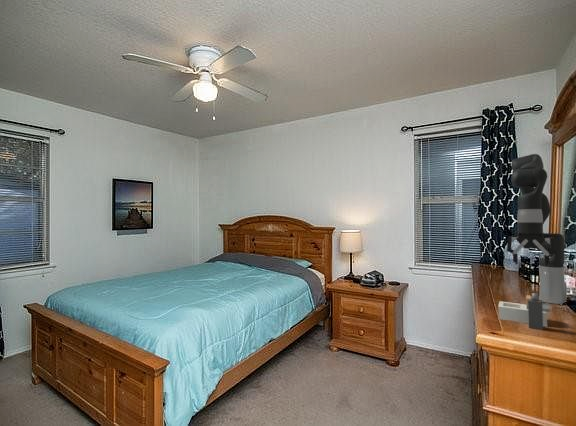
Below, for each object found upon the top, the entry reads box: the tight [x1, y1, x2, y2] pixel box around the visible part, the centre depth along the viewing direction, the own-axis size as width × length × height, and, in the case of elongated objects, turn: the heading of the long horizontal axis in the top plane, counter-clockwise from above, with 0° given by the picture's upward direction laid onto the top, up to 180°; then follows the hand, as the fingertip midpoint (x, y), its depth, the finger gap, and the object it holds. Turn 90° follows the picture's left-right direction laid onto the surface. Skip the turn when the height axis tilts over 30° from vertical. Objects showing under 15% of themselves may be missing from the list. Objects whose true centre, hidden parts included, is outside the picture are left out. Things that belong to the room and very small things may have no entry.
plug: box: [528, 292, 544, 331], centre depth 114 cm, size 4×4×12 cm
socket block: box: [498, 300, 548, 327], centre depth 123 cm, size 10×15×5 cm, turn 53°
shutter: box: [525, 294, 551, 313], centre depth 120 cm, size 7×7×4 cm
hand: (530, 264), depth 115 cm, fingers open, 8 cm apart
